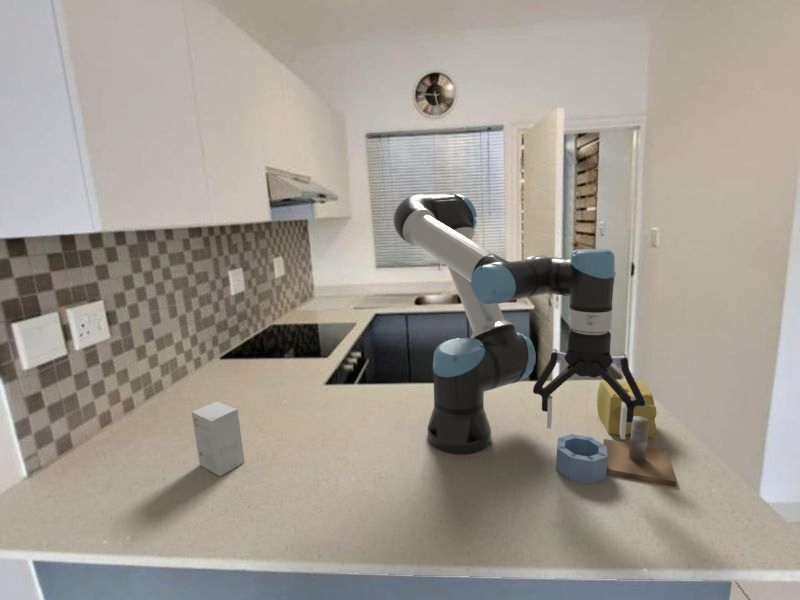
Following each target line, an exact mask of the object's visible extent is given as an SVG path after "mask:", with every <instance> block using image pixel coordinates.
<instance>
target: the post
mask: <svg viewBox="0 0 800 600" xmlns="http://www.w3.org/2000/svg"><path fill="white" fill-rule="evenodd" d="M648 427H649V420H648V419H647V418H645V417H641V416H634V417H633V421H632V428H631V433H630V439H629V440H630V441H629V442H626V441H618V440H612V439H606V438H605V439H603V444H604V445H605V446H606V447H607V456H608V458H607V471H606V475H607V474H608V475H613V476H619V477H624V478H630V479H636V480H641V481H646V482H651V483H656V484H657V483H658V484H661V485H662V484H663V485H667V486H674V487H676V486H677V485H676V484H677V479H676V477H675V473H674V471H673V469H672V466H671V462H670V460H669V458H668V454H667V452H666V449H665V448H662V447H657V446H650V445H647V444H648V438H649V437H648Z"/></svg>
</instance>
